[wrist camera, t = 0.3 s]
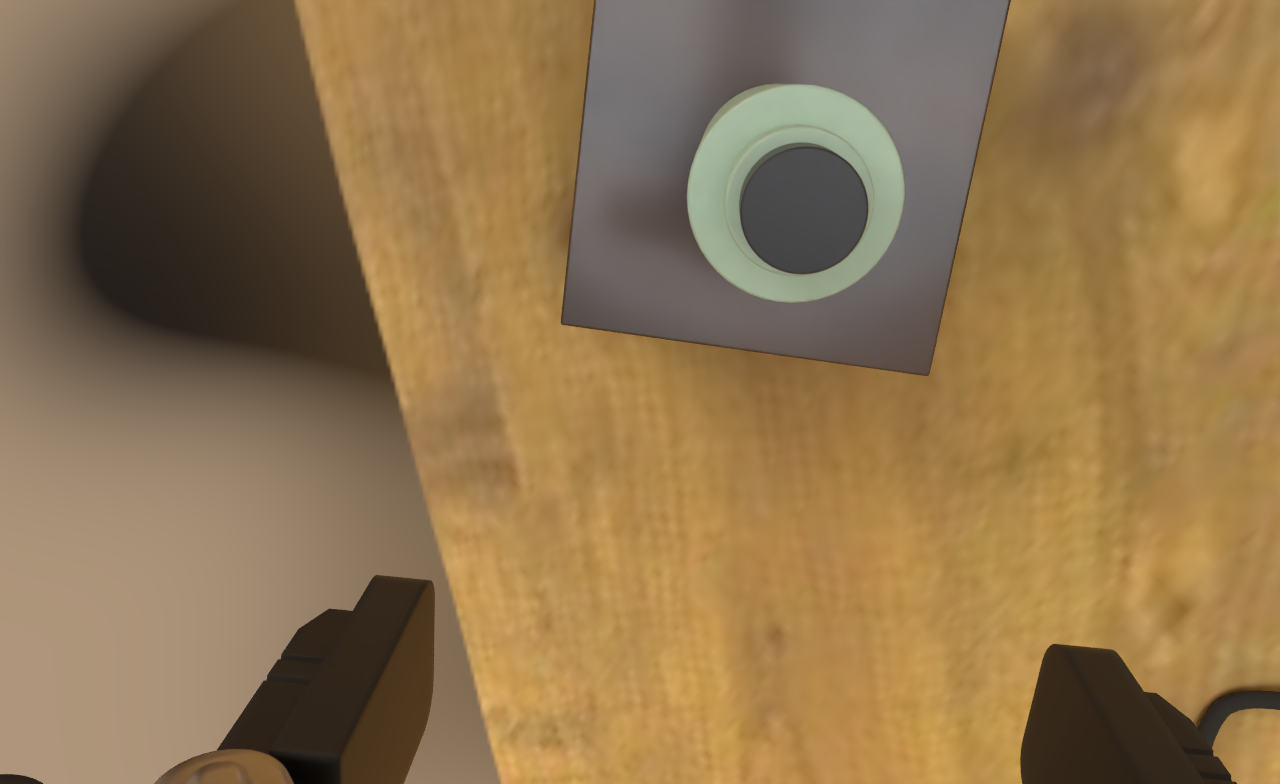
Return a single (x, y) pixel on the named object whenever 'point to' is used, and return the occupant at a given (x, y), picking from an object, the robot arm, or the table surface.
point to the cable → (1235, 709)
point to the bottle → (794, 192)
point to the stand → (674, 126)
